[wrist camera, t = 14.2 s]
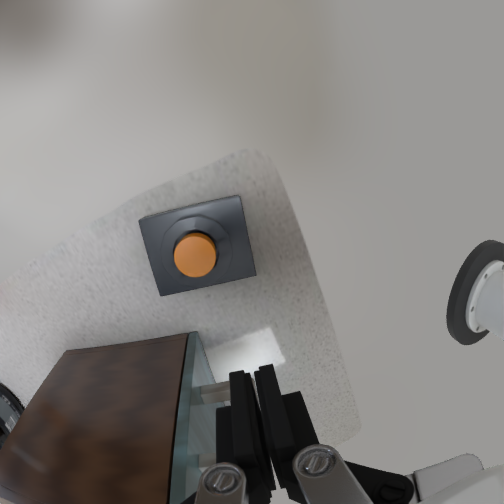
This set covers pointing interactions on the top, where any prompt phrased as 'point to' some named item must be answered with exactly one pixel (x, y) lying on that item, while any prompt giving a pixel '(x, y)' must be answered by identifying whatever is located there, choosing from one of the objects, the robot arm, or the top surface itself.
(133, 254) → the top surface
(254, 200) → the top surface
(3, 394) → the supplement container
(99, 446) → the cupboard
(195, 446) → the cupboard door
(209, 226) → the switch block
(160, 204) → the top surface
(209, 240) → the button
